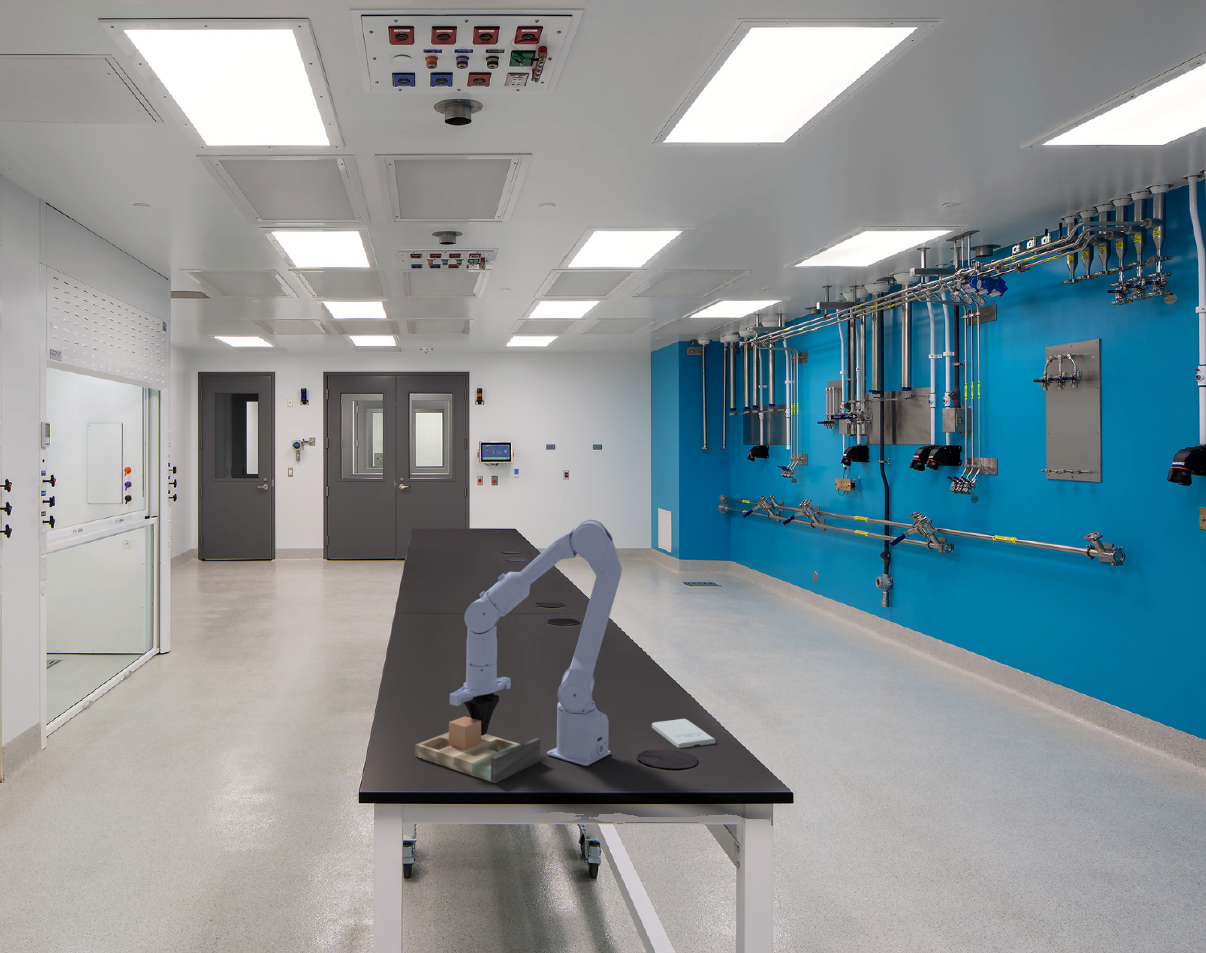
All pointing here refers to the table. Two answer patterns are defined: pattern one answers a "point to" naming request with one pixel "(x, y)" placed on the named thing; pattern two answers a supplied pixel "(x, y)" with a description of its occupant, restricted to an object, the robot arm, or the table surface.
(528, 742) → the trap board
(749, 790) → the table surface
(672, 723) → the external hard drive
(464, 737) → the block
